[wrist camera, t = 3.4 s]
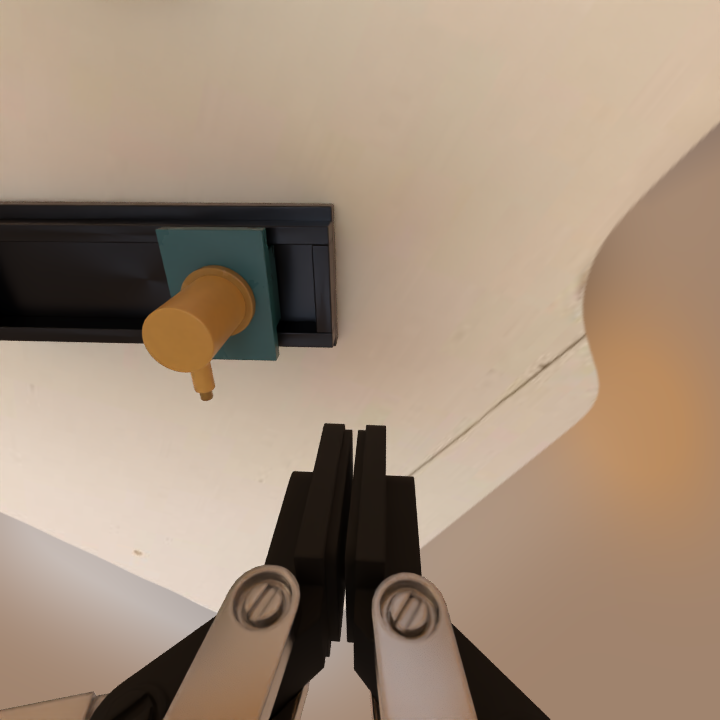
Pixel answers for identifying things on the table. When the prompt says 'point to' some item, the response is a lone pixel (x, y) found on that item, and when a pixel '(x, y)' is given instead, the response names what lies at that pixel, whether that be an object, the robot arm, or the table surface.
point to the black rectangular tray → (149, 267)
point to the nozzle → (214, 301)
